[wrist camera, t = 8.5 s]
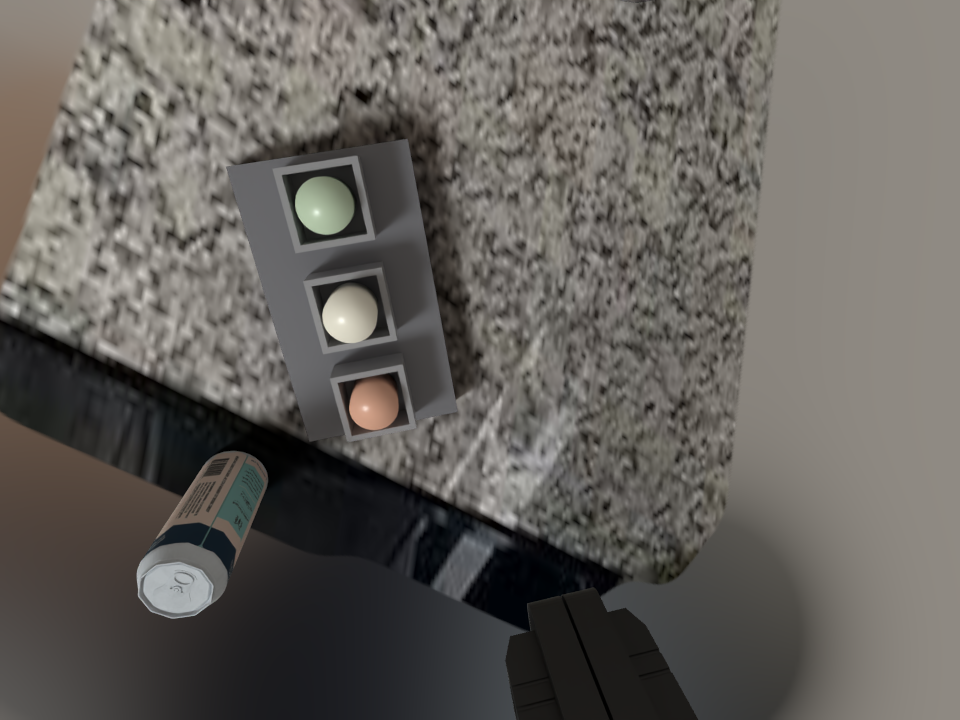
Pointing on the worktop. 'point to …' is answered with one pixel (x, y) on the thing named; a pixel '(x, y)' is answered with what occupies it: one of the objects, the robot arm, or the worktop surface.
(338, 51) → the worktop surface
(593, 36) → the worktop surface
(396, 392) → the terracotta button
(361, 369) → the grey boxy piece
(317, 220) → the sage button
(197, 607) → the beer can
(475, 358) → the worktop surface
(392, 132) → the worktop surface
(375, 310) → the cream button
